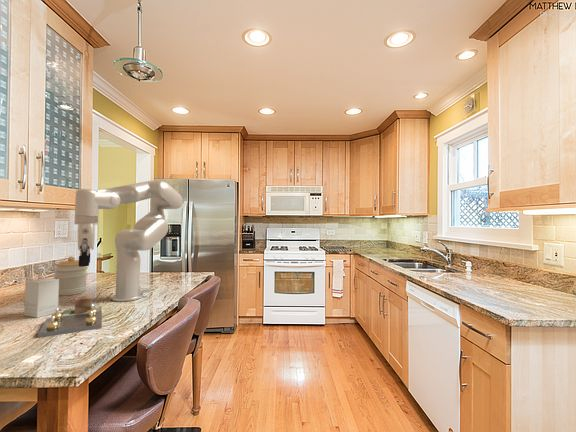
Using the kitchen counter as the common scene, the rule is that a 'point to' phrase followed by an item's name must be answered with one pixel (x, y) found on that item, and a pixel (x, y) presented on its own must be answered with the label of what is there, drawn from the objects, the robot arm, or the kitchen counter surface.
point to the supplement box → (41, 297)
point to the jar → (70, 277)
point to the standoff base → (71, 323)
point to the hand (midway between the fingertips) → (84, 264)
